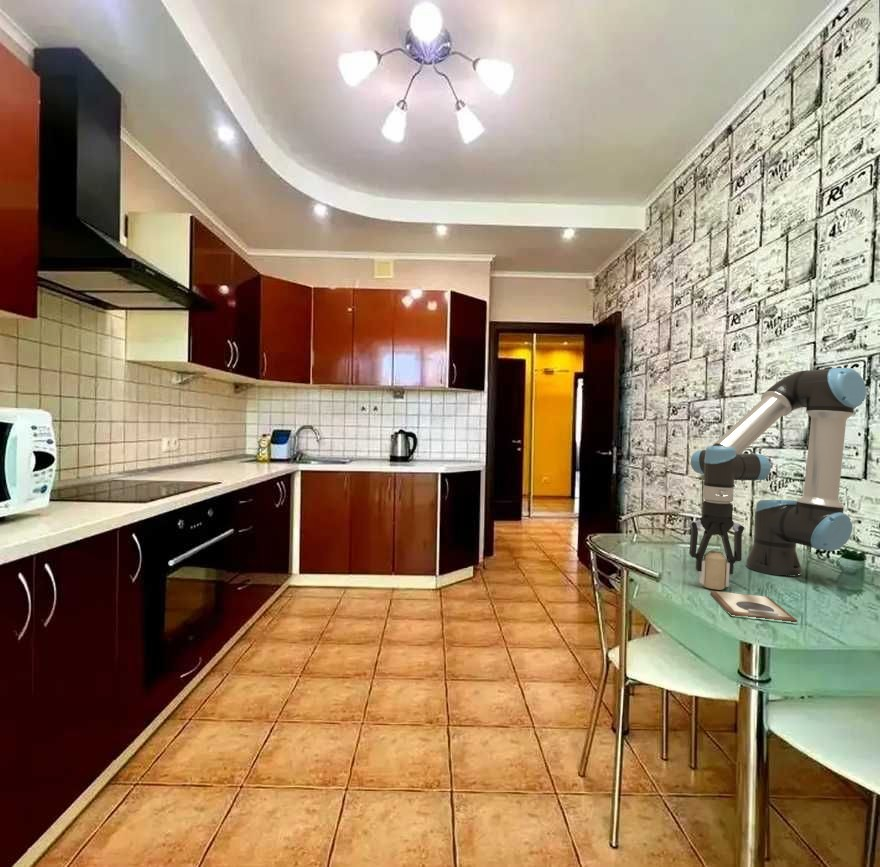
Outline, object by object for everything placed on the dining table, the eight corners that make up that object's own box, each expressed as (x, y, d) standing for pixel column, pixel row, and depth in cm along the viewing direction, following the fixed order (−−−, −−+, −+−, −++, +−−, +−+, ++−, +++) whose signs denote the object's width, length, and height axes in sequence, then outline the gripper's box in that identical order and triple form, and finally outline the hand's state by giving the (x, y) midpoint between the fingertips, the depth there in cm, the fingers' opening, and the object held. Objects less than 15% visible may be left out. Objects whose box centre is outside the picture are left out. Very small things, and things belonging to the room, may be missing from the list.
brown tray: (767, 600, 142) (768, 592, 142) (797, 624, 125) (797, 616, 125) (710, 594, 145) (710, 586, 145) (730, 617, 128) (731, 608, 128)
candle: (698, 583, 153) (700, 548, 153) (716, 584, 154) (718, 549, 154) (709, 589, 148) (711, 553, 148) (728, 590, 148) (730, 554, 148)
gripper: (684, 501, 149) (680, 584, 149) (759, 505, 145) (754, 591, 145) (679, 497, 156) (675, 577, 156) (749, 501, 152) (745, 583, 152)
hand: (713, 583), depth 151 cm, fingers closed on candle, 5 cm apart
